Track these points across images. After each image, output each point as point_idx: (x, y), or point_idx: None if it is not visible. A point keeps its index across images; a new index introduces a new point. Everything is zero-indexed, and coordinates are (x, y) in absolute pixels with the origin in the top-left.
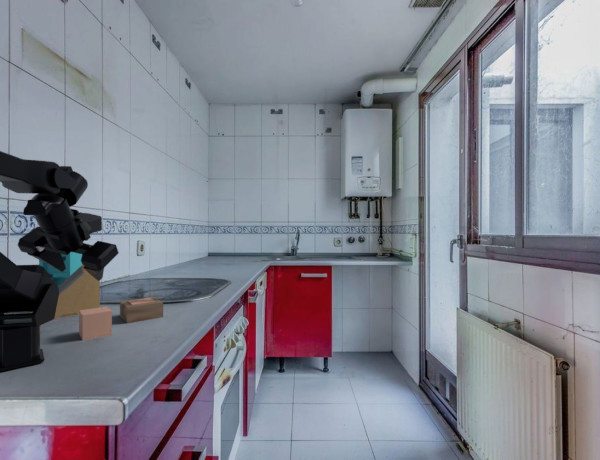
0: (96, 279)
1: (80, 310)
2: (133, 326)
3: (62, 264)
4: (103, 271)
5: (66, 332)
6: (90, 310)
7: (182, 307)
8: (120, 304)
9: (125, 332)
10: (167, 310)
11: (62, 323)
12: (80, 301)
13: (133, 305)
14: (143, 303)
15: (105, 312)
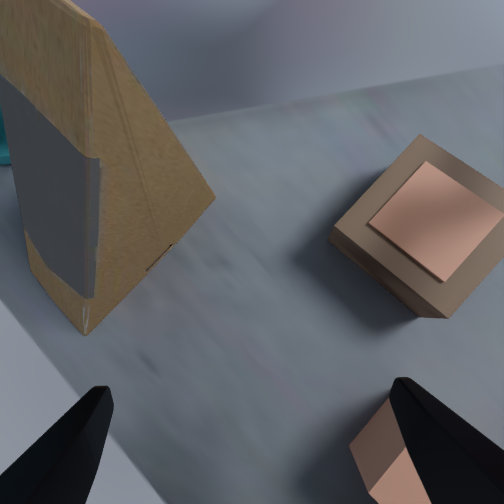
0: (402, 426)
1: (375, 493)
2: (472, 350)
3: (83, 448)
4: (475, 429)
5: (293, 429)
6: (422, 492)
7: (475, 105)
8: (342, 236)
9: (499, 421)
10: (446, 150)
11: (203, 335)
12: (163, 223)
13: (450, 284)
14: (471, 250)
15: None
